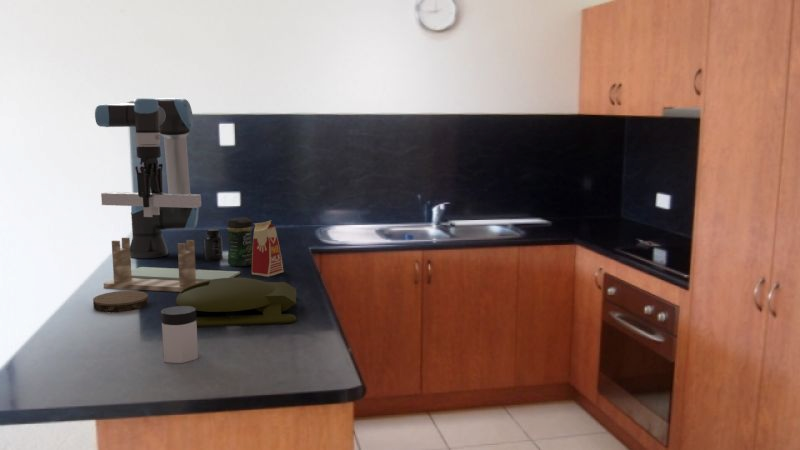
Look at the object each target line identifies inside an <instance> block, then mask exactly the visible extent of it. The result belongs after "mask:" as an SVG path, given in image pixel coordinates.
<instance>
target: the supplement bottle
mask: <svg viewBox="0 0 800 450" xmlns="http://www.w3.org/2000/svg"><path fill="white" fill-rule="evenodd" d="M204 256H205V257H204V259H205V260H206V261H210V262H214V261H221V260H223V257H224V256H223V238H222V236H220V229H219V228H210V229H207V230H206V236H205V238H204Z"/></svg>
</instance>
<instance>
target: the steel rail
mask: <svg viewBox="0 0 800 450" xmlns="http://www.w3.org/2000/svg"><path fill="white" fill-rule="evenodd" d="M100 197H101V206H116V207H117V206H120V207H124V206H125V207H131V206H143V197H139V195H138V192H124V191H122V192H121V191H106V192H101V195H100ZM150 197H152V207H181V208H197V207H199V208H201V207H202V194H199V193H198V194H196V193H195V194H194V193H191V194H168V193H166V192H165V193H163V192H162V193H151V192H150Z"/></svg>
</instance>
